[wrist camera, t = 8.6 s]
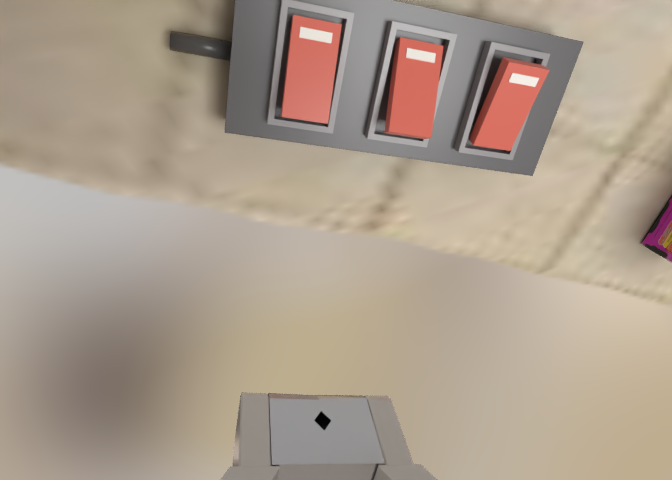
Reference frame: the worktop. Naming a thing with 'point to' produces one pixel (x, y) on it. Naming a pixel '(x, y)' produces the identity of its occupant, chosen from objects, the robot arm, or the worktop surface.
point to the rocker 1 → (310, 69)
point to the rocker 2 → (413, 88)
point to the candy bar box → (661, 234)
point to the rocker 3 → (508, 103)
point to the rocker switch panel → (386, 78)
